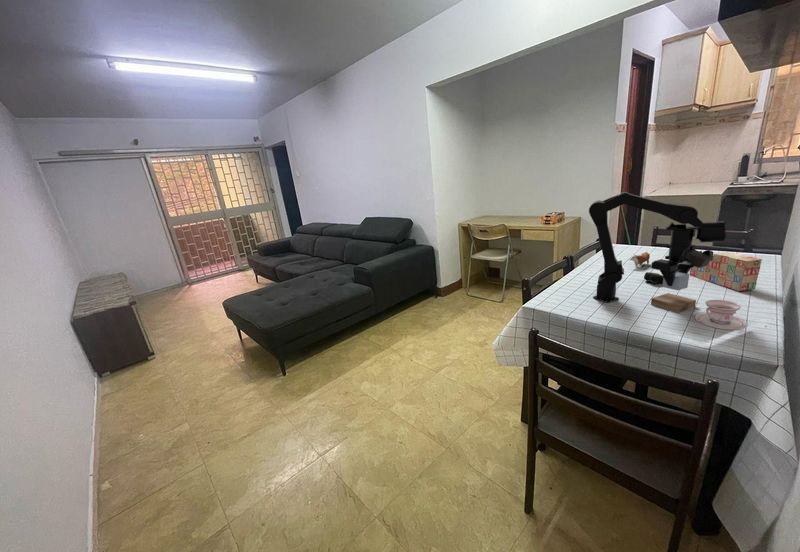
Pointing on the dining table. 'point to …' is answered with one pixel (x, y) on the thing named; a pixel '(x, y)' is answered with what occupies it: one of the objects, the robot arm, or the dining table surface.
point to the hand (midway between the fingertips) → (674, 284)
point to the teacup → (721, 315)
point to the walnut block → (673, 302)
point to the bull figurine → (640, 258)
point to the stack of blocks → (730, 271)
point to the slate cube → (678, 281)
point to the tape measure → (653, 277)
